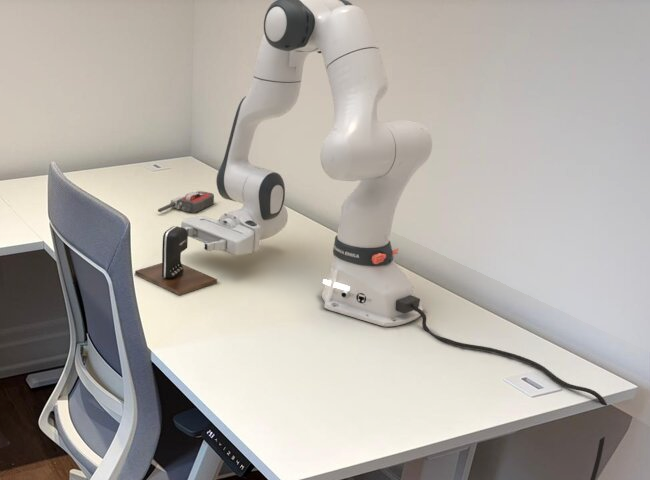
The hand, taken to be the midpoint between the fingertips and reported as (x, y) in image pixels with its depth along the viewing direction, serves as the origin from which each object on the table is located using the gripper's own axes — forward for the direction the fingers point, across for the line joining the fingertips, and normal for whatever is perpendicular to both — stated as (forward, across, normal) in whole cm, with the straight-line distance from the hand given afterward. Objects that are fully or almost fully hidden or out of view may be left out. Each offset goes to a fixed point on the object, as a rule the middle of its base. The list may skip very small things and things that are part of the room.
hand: (192, 241), depth 202 cm
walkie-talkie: (-33, -38, +8) cm, 51 cm away
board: (+5, 0, +8) cm, 10 cm away
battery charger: (+5, 0, +7) cm, 9 cm away
